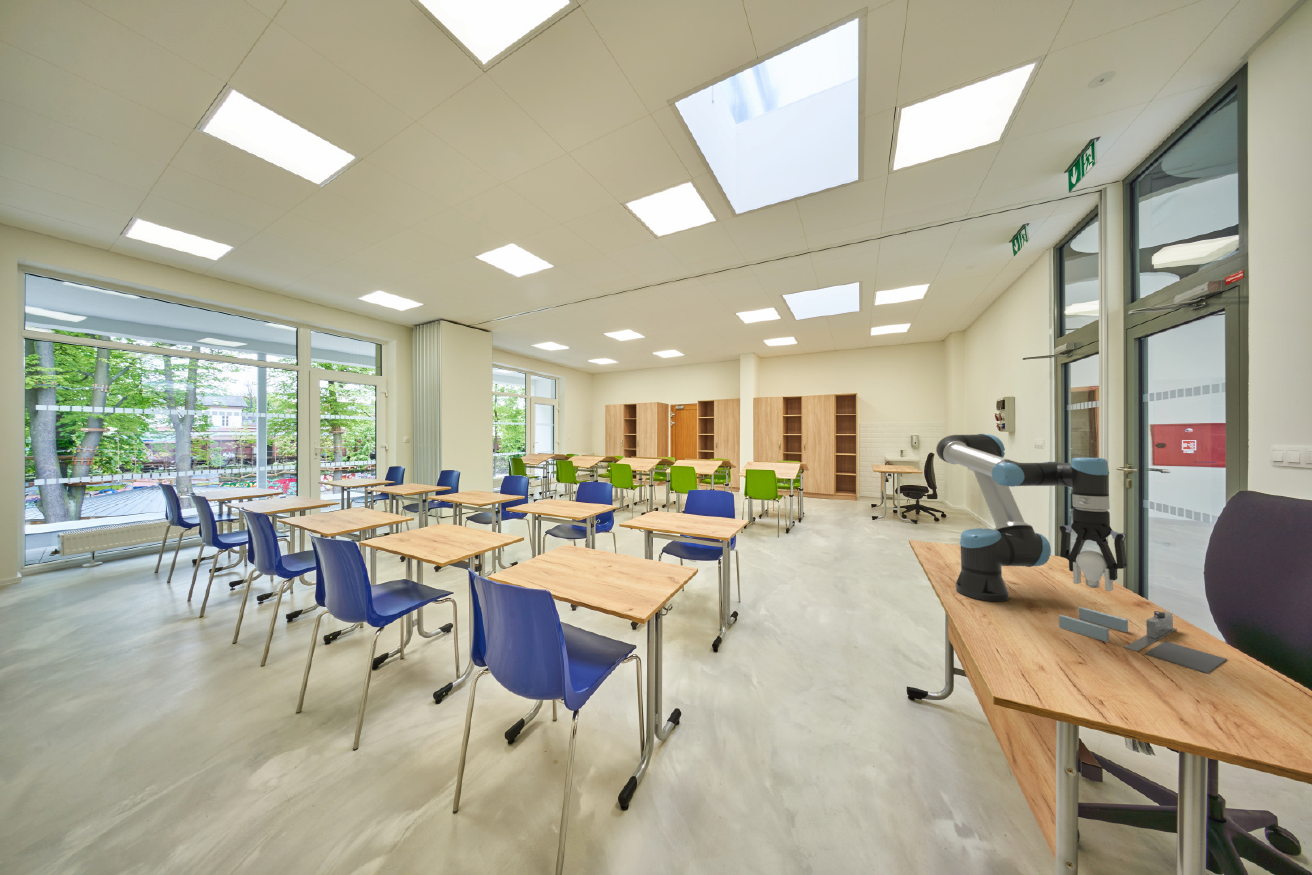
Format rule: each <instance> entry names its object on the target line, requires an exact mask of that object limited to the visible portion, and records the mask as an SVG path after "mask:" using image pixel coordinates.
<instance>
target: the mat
mask: <svg viewBox="0 0 1312 875" xmlns="http://www.w3.org/2000/svg"><path fill="white" fill-rule="evenodd" d="M1144 655H1146V656H1149V657H1153V658H1156V659H1159V660H1162V661H1164V662H1169V663H1172V664H1175V665H1179V666H1182V667H1185V668H1187V667H1188V668H1189V669H1191V670H1194V671H1198V672H1200V673H1203V674H1207V675H1208V674H1210V673H1211V672H1212V671H1214V670H1215V669H1216V667H1217V668H1218V667H1219V666H1220V665H1222V664H1223V663H1225V662H1226V661H1227V660H1228V659H1227V658H1225V657H1222V656H1218V655H1216V654H1211V653H1208V652H1206V651H1205V652H1204V651H1201V650H1197V649H1194V648H1191V647H1188V646H1184V645H1179V644H1177V643H1173V642H1169V641H1163V642H1162V643H1159V644H1158V645H1156V646H1155V647H1152V648H1151V649H1149V650H1147V651H1146V652H1144ZM1210 671H1211V672H1210ZM1209 672H1210V673H1209Z"/></svg>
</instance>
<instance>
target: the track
mask: <svg viewBox="0 0 1312 875" xmlns="http://www.w3.org/2000/svg"><path fill="white" fill-rule="evenodd" d="M1175 631H1178V630H1177V628H1174V627H1173V629H1172V630H1170V631H1168V632H1167V633H1165V634H1163V635H1161V636H1159V637H1158V638H1156V639H1155V638H1151V637H1148V636H1147V634H1145V635H1144V636H1142V637H1140V638H1138V639H1136V640H1134V641H1132V642H1130V643H1129V644H1127V645H1124V646H1123V648H1124V649H1126V650H1131V651H1134V652H1137V653H1138V652H1139V651H1142V650H1143V649H1145V648H1146V647H1148V646H1150V645H1152V644H1154V643H1156V642H1157V641H1159V640H1160V639H1162V638H1164V637H1166V636H1168V635H1169V634H1172V633H1173V632H1175Z"/></svg>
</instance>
